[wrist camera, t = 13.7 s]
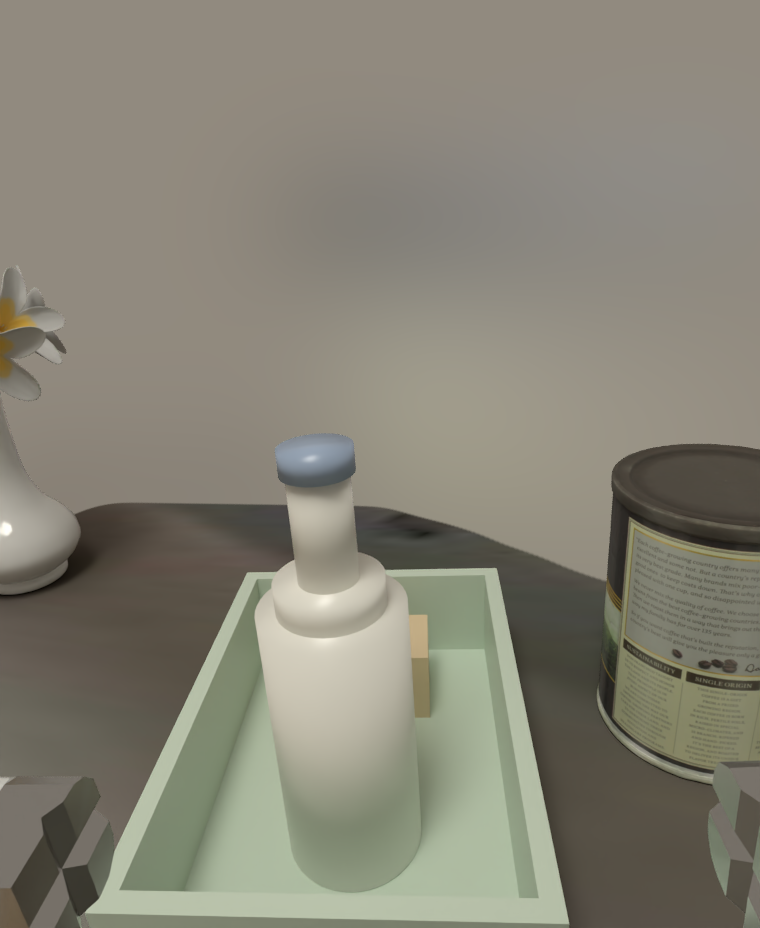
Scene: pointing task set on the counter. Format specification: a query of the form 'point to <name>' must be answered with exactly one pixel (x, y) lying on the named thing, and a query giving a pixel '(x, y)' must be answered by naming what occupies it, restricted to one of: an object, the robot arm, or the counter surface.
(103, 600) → the counter surface
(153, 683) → the counter surface
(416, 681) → the butter block
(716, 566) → the coffee can
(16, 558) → the flower vase
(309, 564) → the milk bottle
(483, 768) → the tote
